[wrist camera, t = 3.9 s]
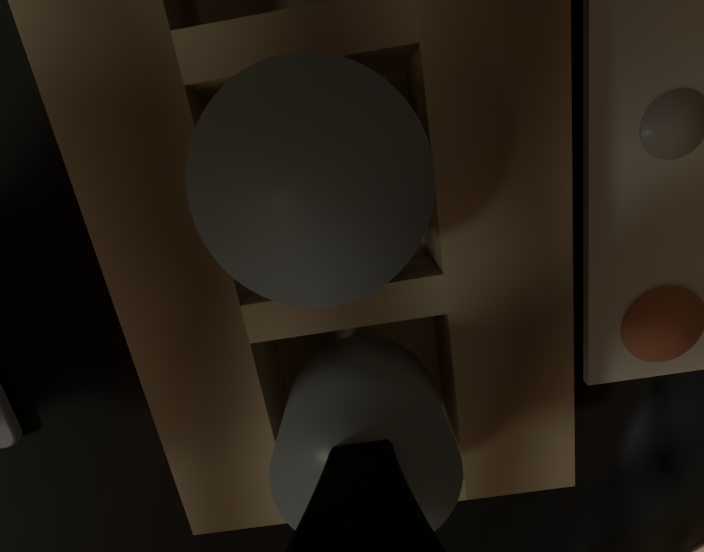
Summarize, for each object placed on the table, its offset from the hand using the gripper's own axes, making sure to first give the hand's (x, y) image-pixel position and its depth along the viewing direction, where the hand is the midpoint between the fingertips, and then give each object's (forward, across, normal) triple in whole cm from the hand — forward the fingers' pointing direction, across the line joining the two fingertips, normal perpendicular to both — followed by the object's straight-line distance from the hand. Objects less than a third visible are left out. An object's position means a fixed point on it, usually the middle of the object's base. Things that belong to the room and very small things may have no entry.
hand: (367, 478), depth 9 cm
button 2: (+3, 0, -6) cm, 7 cm away
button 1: (+3, 0, 0) cm, 3 cm away
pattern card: (+5, -10, -6) cm, 13 cm away
